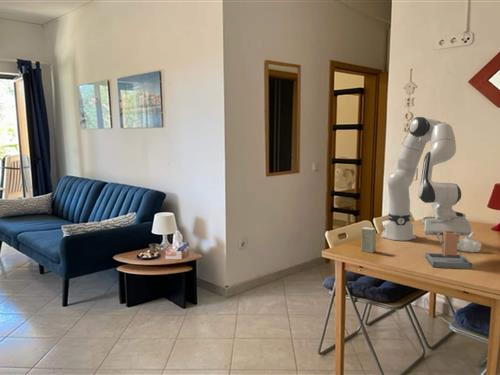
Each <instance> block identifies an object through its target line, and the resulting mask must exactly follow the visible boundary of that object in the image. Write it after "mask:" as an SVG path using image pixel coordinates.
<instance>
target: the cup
mask: <svg viewBox="0 0 500 375" xmlns="http://www.w3.org/2000/svg"><path fill="white" fill-rule="evenodd" d="M441 237H442V238H444V243H441V253H442V255H443V256H444V257H457V254H458V253H457V251H458V250H457V238H458V237H457V233H456V232H455V231H453V232H445V231H443V232H442V235H441Z"/></svg>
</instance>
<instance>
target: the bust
mask: <svg viewBox="0 0 500 375" xmlns="http://www.w3.org/2000/svg"><path fill="white" fill-rule="evenodd" d="M475 234H476V233H475V232H473V231H471V234H470V235H469V236H464V238H459V243H457V251H461V252H464V253H465V252H468V253H479V252H480V250H481V248H482V243H481V242H480V241H478V240H476V239H472V238H474V235H475Z"/></svg>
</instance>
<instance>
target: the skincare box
mask: <svg viewBox="0 0 500 375" xmlns="http://www.w3.org/2000/svg"><path fill="white" fill-rule="evenodd" d="M360 232H361V234H360V239H361V241H360V243H361V244H360V246H361V249H360V251H361V252H365V253H371V254H372V253H375V252H376V251H377V250H376V248H377V247H376V244H377V242H376V239H377V236H376V234H377V232H376V227H369V226H363V227H361V228H360Z"/></svg>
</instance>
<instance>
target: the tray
mask: <svg viewBox="0 0 500 375" xmlns="http://www.w3.org/2000/svg"><path fill="white" fill-rule="evenodd" d="M424 257H425V259H426V261H427V262H428V263H429V265H431V267H432V268H444V269H466V270H469V269H470V270H472V265H473V263H472V262H471V261H470V260H469V259H467V258H466V257H465V256H464V255H463V254H461V253H457V257H444V256H443V255H442V252H441V253H439V252H438V253H436V252H433V253H432V252H425V256H424Z"/></svg>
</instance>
